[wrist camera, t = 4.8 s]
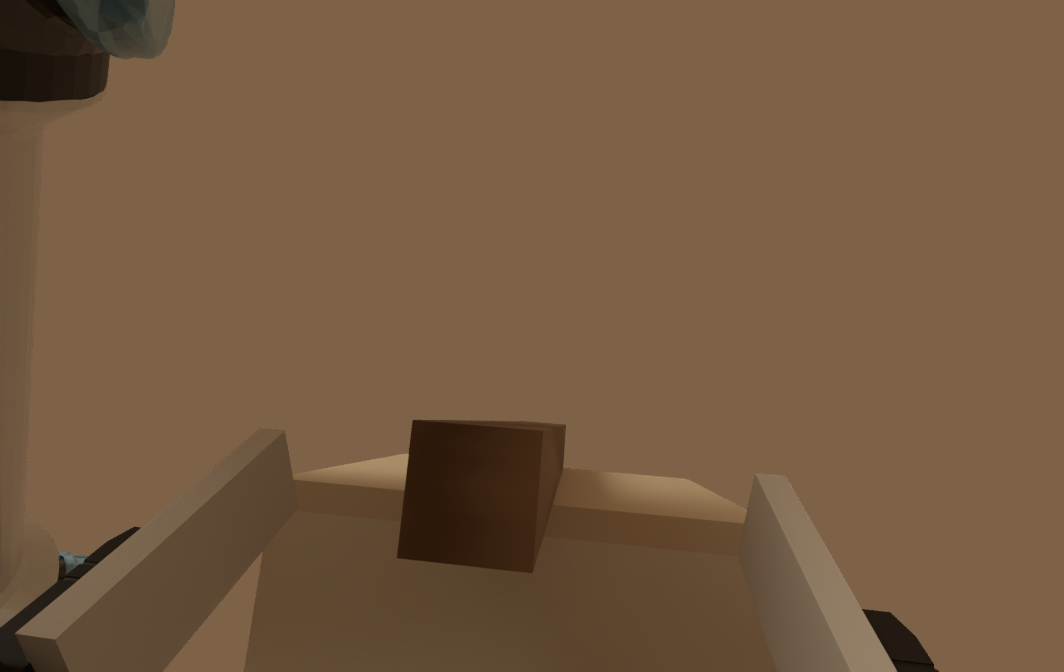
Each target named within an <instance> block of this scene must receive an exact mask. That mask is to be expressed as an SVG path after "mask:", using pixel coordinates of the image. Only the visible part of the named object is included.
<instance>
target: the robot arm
mask: <svg viewBox="0 0 1064 672" xmlns="http://www.w3.org/2000/svg"><path fill="white" fill-rule="evenodd" d="M174 8H175V0H0V672H163V670H164V669H165V668H166V667H167V666H168V665H169V663H170V662H171V661H172V660H173V659H174V657H175V656H176V655H177V654H178V653H179V651H180V650H181V649H182V648H183V646H184V645H185V644H186V643H187V642H188V640H189V639H190V638H191V637H192V636H193V634H194V633H195V632H196V631H197V630H198V628H199V627H200V626H201V625H202V624H203V622H204V621H205V620H206V619H207V618H208V616H209V615H210V614H211V613H212V612H213V610H214V609H215V608H216V607H217V605H218V604H219V603H220V602H221V601H222V599H223V598H224V597H225V596H226V595H227V593H228V592H229V591H230V590H231V588H232V587H233V586H234V585H235V584H236V583H237V581H238V580H239V579H240V578H241V576H242V575H243V574H244V573H245V572H246V570H247V569H248V568H249V567H250V566H251V564H252V563H253V562H254V561H255V560H256V558H257V557H258V556H259V555H260V554H261V552H262V551H263V550H264V549H265V547H266V546H267V545H268V544H269V543H270V541H271V540H272V539H273V538H274V537H275V535H276V534H277V533H278V532H279V531H280V529H281V528H282V527H283V526H284V525H285V523H286V522H287V521H288V520H289V518H290V517H291V516H292V515H293V514H294V512H295V511H296V510H297V509H298V504H297V498H296V492H295V486H294V481H293V475H292V469H291V464H290V458H289V452H288V446H287V441H286V435H285V431H282V430H272V429H259V430H258V431H256V432H255V433H254V434H253V435H252V436H250V437H249V438H248V439H247V440H246V441H245V442H243V443H242V444H241V445H240V446H238V447H237V448H236V449H235V450H234V451H233V452H231V453H230V454H229V455H228V456H226V457H225V458H224V459H223V460H222V461H220V462H219V463H218V464H217V465H216V466H215V467H213V468H212V469H211V470H210V471H209V472H207V473H206V474H205V475H204V476H203V477H201V478H200V479H199V480H198V481H197V482H195V483H194V484H193V485H192V486H191V487H189V488H188V489H187V490H186V491H185V492H183V493H182V494H181V495H180V496H179V497H177V498H176V499H175V500H174V501H173V502H171V503H170V504H169V505H168V506H167V507H166V508H165V509H163V510H162V511H161V512H159V513H158V514H157V515H156V516H155V517H153V518H152V519H151V520H150V521H149V522H147V523H146V524H145V525H144V526H143V527H142V528H139V527H133V528H131V529H129V530H128V531H126V532H124V533H122V534H120V535H118V536H117V537H115V538H113V539H111V540H109V541H107V542H106V543H105V544H103V545H102V546H101V547H100V548H99V549H97V550H96V551H95V552H93V553H92V554H91V555H90V556H89V557H88V556H85V555H76V554H75V555H74V554H70V553H69V552H58V550H57V547H56V545H55V542H54V540H53V538H52V537H51V536H50V534H49V533H48V532H47V531H46V530H45V529H44V528H43V527H42V526H41V525H40V524H39V523H38V522H36V521H35V520H33V519H32V518H30V517H29V516H27V515H25V514H24V508H25V489H26V488H25V487H26V468H27V447H28V428H29V407H30V387H31V367H32V346H33V327H34V305H35V286H36V265H37V246H38V224H39V206H40V185H41V164H42V144H43V130H44V128H45V126H46V125H48V124H50V123H53V122H55V121H57V120H60V119H62V118H64V117H67V116H69V115H72V114H74V113H76V112H79V111H81V110H83V109H86V108H88V107H90V106H93V105H94V104H96V103H98V102H99V101H101V100H102V99H103V97H104V96H105V94H106V87H107V78H108V68H109V58H110V55H112V56H115V57H118V58H123V59H130V58H134V57H136V58H146V59H151V58H155V57H156V56H158V55H160V54H161V53H162V52H163V50H164V49H165V47H166V45H167V42H168V39H169V36H170V32H171V28H172V22H173V15H174ZM737 556H738V559H739V561H740V564H741V567H742V570H743V573H744V576H745V579H746V582H747V585H748V588H749V591H750V594H751V597H752V599H753V602H754V605H755V608H756V611H757V614H758V617H759V620H760V623H761V626H762V629H763V632H764V634H765V637H766V640H767V643H768V646H769V649H770V652H771V655H772V658H773V661H774V664H775V667H776V670H777V672H939V671H938V670H935V668H934V664H933V662H932V661H931V659H930V658H929V656H928V654H927V653H926V651H925V650H924V648H923V647H922V645H921V644H920V642H919V641H918V639H917V638H916V636H915V635H914V634H912V633H911V632H910V631H909V630H908V629H907V628H906V627H905V626H904V625H903V624H902V623H901V622H900V621H899V620H897V618H895V617H894V616H893V615H892V614H891V613H890V612H882V611H874V610H864V609H861V607H860V605H859V604H858V602H857V600H856V598H855V597H854V595H853V593H852V591H851V590H850V588H849V586H848V584H847V583H846V581H845V579H844V577H843V576H842V574H841V573H840V571H839V569H838V567H837V565H836V563H835V562H834V560H833V558H832V557H831V555H830V553H829V551H828V549H827V548H826V546H825V544H824V542H823V541H822V539H821V537H820V536H819V534H818V532H817V530H816V528H815V527H814V525H813V523H812V521H811V520H810V518H809V516H808V514H807V513H806V511H805V509H804V507H803V506H802V504H801V502H800V500H799V499H798V497H797V495H796V493H795V492H794V490H793V488H792V486H791V485H790V483H789V481H788V479H787V478H786V476H782V475H771V474H759V473H755V475H754V480H753V485H752V489H751V494H750V498H749V503H748V508H747V512H746V517H745V521H744V526H743V531H742V535H741V540H740V544H739V549H738V554H737Z"/></svg>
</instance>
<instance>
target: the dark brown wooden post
mask: <svg viewBox="0 0 1064 672" xmlns="http://www.w3.org/2000/svg"><path fill="white" fill-rule="evenodd" d="M565 431H566V425H563V424H550V423H538V422H525V421H458V420H455V421H454V420H453V421H452V420H451V421H450V420H413V422H412V431H411V439H410V448H409V457H408V465H407V474H406V482H405V491H404V500H403V508H402V517H401V526H400V534H399V543H398V551H397V558H399V559H408V560H417V561H426V562H435V563H444V564H453V565H462V566H471V567H480V568H489V569H498V570H507V571H516V572H525V573H533V570H534V567H535V563H536V560H537V557H538V553H539V550H540V546H541V543H542V539H543V536H544V532H545V529H546V526H547V522H548V519H549V515H550V512H551V508H552V505H553V502H554V498H555V495H556V491H557V488H558V484H559V481H560V477H561V474H562V471H563V460H564V445H565Z"/></svg>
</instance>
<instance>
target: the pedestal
mask: <svg viewBox="0 0 1064 672" xmlns="http://www.w3.org/2000/svg"><path fill="white" fill-rule="evenodd" d="M408 457H409V454H400V455H395V456H390V457H384V458H379V459H373V460H368V461H363V462H357V463H352V464H346V465H341V466H336V467H331V468H325V469H319V470H314V471H309V472H303V473H298V474H292V475H293V481H294V486H295V492H296V498H297V504H298V509H297V510H296V511H295V512H294V514H293V515H292V516H291V517H290V518H289V520H288V521H287V522H286V523H285V525H284V526H283V527H282V528H281V529H280V531H279V532H278V533H277V534H276V535H275V537H274V538H273V539H272V540H271V541H270V543H269V544H268V545H267V546H266V547H265V549H264V550H263V553H262V559H261V565H260V572H259V578H258V585H257V591H256V598H255V604H254V610H253V617H252V623H251V629H250V635H249V642H248V648H247V655H246V661H245V667H244V672H777V670H776V667H775V664H774V661H773V658H772V655H771V652H770V649H769V646H768V643H767V640H766V637H765V634H764V632H763V629H762V626H761V623H760V620H759V617H758V614H757V611H756V608H755V605H754V602H753V599H752V597H751V594H750V591H749V588H748V585H747V582H746V579H745V576H744V573H743V570H742V567H741V564H740V561H739V559H738V556H737V554H738V549H739V544H740V540H741V535H742V531H743V526H744V521H745V517H746V512H747V510H746V509H744V508H742V507H740V506H738V505H737V504H734V503H733V502H731V501H729V500H727V499H725V498H723V497H721V496H719V495H717V494H715V493H713V492H711V491H709V490H708V489H706V488H704V487H702V486H700V485H698V484H696V483H694V482H692V481H690V480H688V479H681V478H670V477H659V476H647V475H637V474H626V473H615V472H602V471H592V470H581V469H570V468H563V471H562V474H561V477H560V481H559V484H558V488H557V491H556V495H555V498H554V502H553V505H552V508H551V512H550V515H549V519H548V522H547V526H546V529H545V532H544V536H543V539H542V543H541V546H540V550H539V553H538V557H537V560H536V563H535V567H534V570H533V573H525V572H516V571H507V570H498V569H489V568H480V567H471V566H462V565H453V564H444V563H435V562H426V561H417V560H408V559H399V558H397V551H398V543H399V534H400V526H401V517H402V508H403V500H404V491H405V482H406V474H407V465H408Z"/></svg>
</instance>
